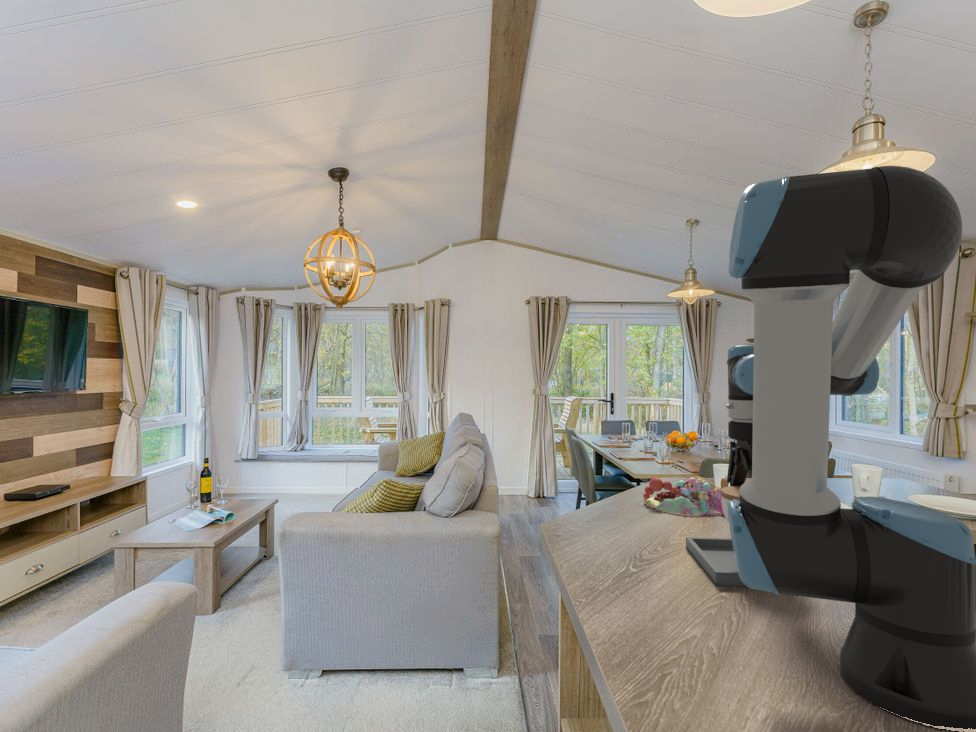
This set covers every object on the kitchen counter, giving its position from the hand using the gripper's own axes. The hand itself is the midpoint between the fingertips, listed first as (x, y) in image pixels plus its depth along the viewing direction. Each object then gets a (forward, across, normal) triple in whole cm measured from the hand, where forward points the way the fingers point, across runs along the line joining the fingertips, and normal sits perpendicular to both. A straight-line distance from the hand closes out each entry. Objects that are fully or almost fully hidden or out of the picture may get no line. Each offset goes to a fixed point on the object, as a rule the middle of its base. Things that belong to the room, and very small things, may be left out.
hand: (749, 527), depth 104 cm
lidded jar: (+1, 0, 0) cm, 1 cm away
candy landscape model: (+9, -46, +2) cm, 47 cm away
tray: (+8, 0, 0) cm, 8 cm away
